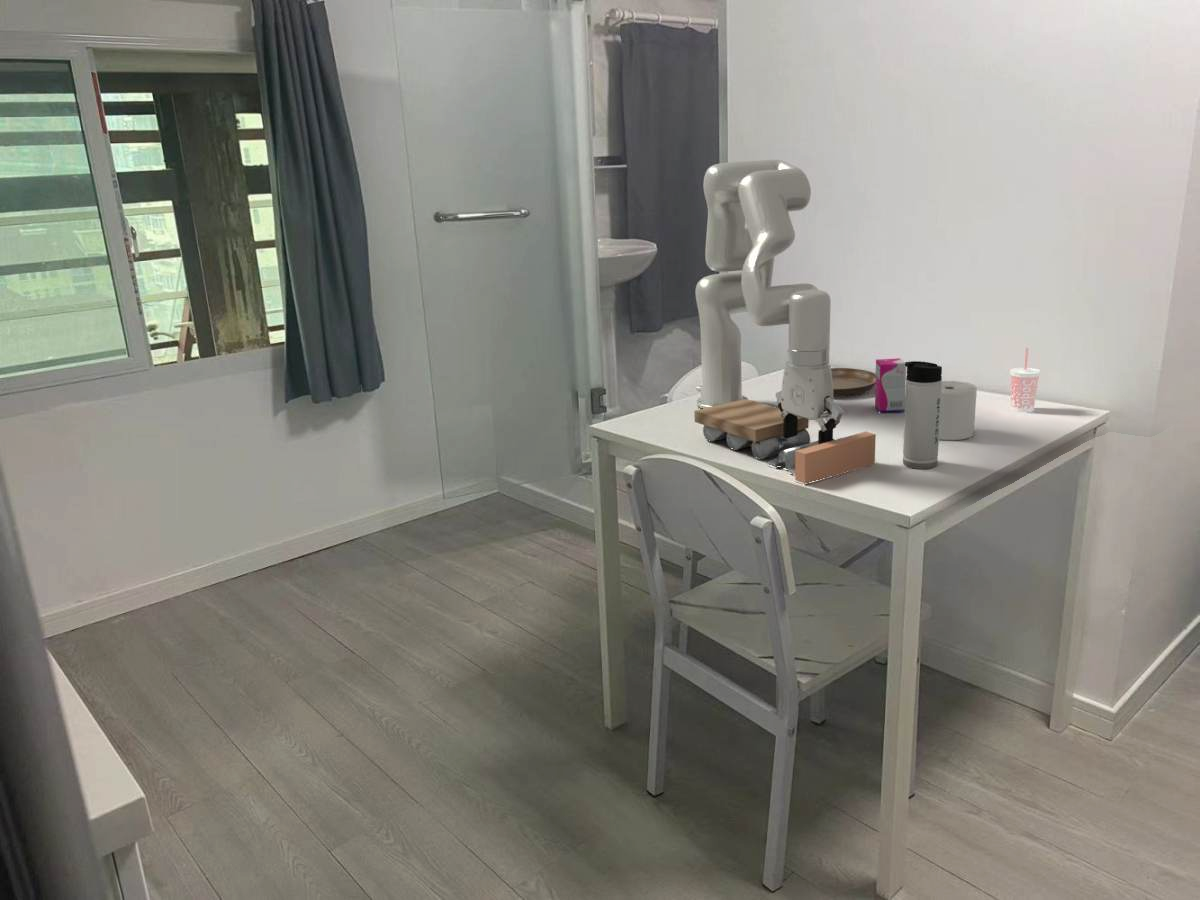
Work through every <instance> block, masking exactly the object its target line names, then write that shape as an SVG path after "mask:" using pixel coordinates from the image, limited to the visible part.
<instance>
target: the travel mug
mask: <svg viewBox="0 0 1200 900" xmlns="http://www.w3.org/2000/svg"><path fill="white" fill-rule="evenodd" d="M904 362H905V361H904ZM905 366H906V389H905V412H904V422H903V423H904V424H903V427H904V428H903V443H902V444H903V445H902V446H903V449H902V464H903V466H904V467H905V466H906V467H907V468H910V469H914V468H915V469H916V470H928V469H929V470H931V469H933V468H935V467H936V466H938V463H939V462H938V461H939V459H938V456H939V441H940V439H939V424H940V405H941V386H942V383H941V382H942V381H943V380H942V377H943V376H942V374H943V368H942V365H938V364H937V363H934V362H928V361H915V360H914V361H913V360H912V361H906V362H905Z"/></svg>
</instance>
